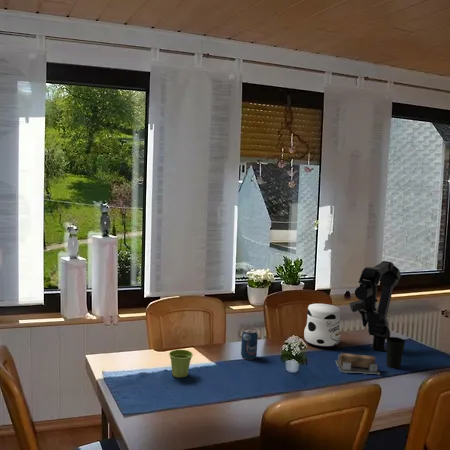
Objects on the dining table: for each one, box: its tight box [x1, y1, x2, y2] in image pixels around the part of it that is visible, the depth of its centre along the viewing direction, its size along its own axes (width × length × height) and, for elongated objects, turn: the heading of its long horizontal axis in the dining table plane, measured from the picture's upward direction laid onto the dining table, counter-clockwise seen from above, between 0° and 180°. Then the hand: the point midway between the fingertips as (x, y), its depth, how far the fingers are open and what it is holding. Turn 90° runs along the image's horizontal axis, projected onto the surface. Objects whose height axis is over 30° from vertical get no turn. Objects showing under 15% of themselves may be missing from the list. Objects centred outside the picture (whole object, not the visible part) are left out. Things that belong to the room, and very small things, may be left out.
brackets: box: [335, 354, 381, 376], centre depth 217 cm, size 12×16×4 cm
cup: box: [385, 336, 406, 369], centre depth 221 cm, size 8×8×12 cm
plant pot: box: [168, 349, 194, 379], centre depth 201 cm, size 9×9×9 cm
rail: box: [340, 352, 376, 368], centre depth 217 cm, size 14×4×4 cm, turn 80°
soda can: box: [240, 328, 259, 361], centre depth 224 cm, size 7×7×12 cm
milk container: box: [303, 303, 342, 348], centre depth 246 cm, size 17×17×18 cm
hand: (367, 329), depth 230 cm, fingers open, 9 cm apart
